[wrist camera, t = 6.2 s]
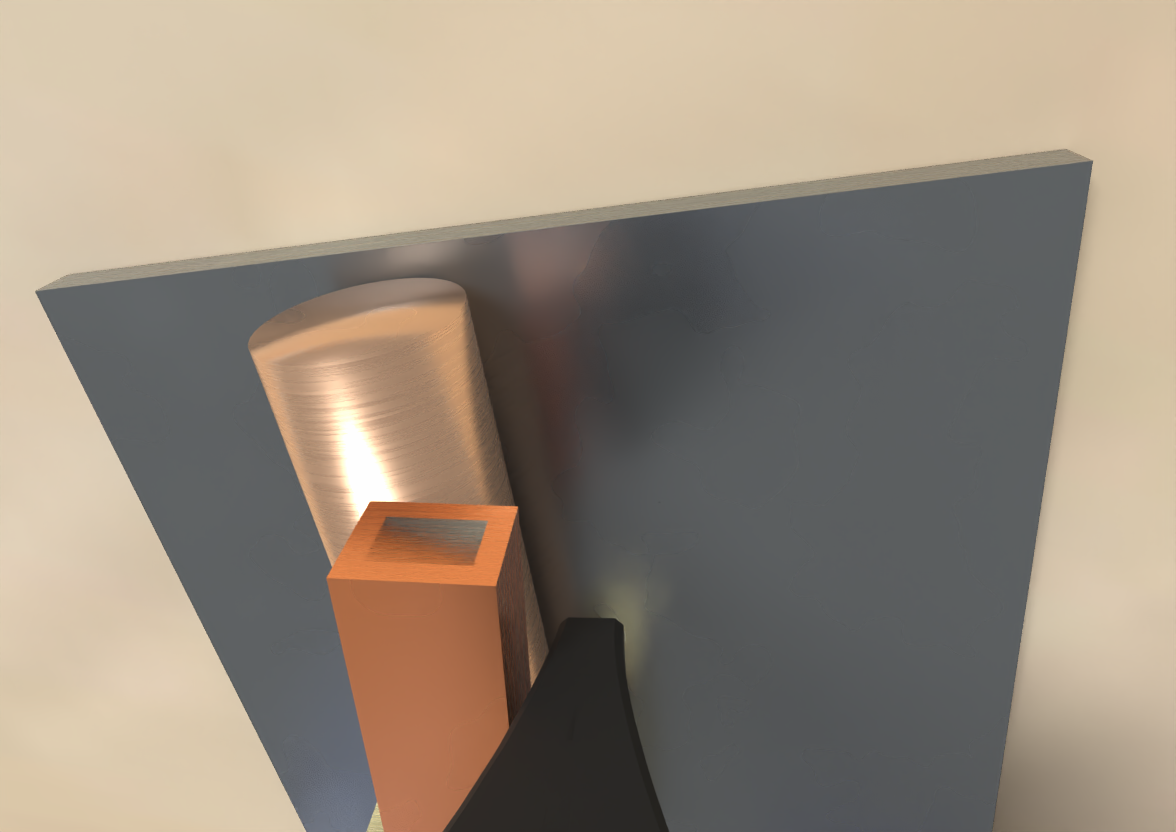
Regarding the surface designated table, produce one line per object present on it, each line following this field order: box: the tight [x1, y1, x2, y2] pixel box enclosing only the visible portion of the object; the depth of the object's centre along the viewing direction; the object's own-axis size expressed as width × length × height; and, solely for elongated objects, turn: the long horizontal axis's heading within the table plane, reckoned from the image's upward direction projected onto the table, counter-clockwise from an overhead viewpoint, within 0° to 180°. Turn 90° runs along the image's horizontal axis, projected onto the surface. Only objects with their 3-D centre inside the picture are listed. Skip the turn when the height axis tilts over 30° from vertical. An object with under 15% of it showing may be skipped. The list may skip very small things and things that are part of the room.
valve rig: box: [35, 149, 1093, 832], centre depth 16 cm, size 22×16×5 cm
